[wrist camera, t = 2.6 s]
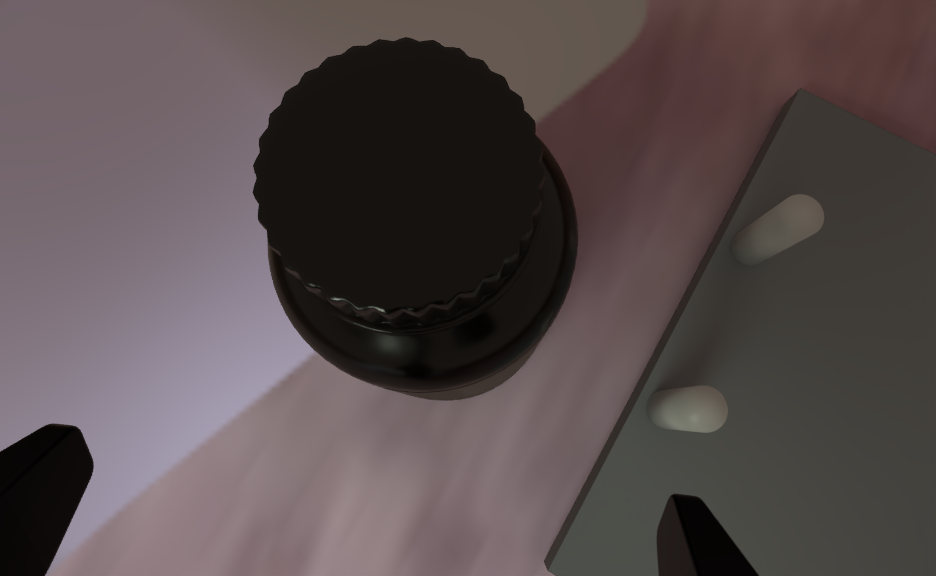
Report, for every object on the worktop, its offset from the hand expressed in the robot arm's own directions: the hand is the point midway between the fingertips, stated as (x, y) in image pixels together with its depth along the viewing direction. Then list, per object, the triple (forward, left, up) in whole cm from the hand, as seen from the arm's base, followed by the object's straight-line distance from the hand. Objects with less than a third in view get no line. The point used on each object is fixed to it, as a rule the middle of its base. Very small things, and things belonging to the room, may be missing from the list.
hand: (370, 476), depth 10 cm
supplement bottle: (+2, +4, -12) cm, 13 cm away
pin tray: (+13, -4, -11) cm, 18 cm away
